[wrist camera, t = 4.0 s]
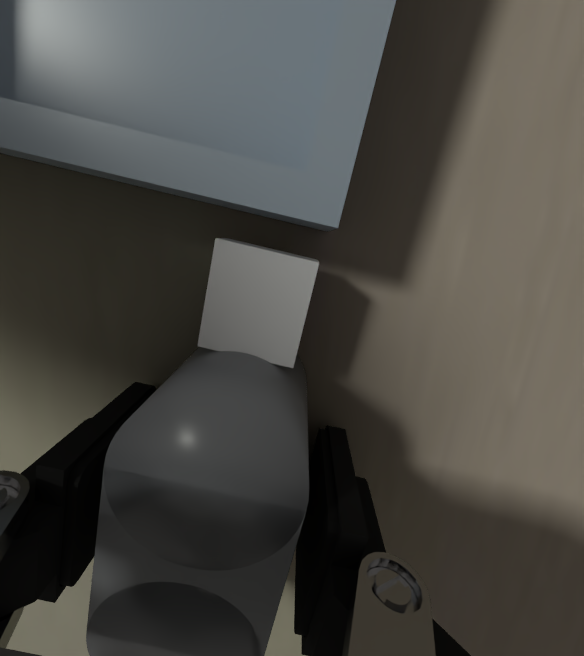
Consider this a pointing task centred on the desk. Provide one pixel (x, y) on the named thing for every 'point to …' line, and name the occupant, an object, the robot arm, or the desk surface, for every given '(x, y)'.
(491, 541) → the desk surface
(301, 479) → the graphite plug
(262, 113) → the tray
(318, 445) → the robot arm
